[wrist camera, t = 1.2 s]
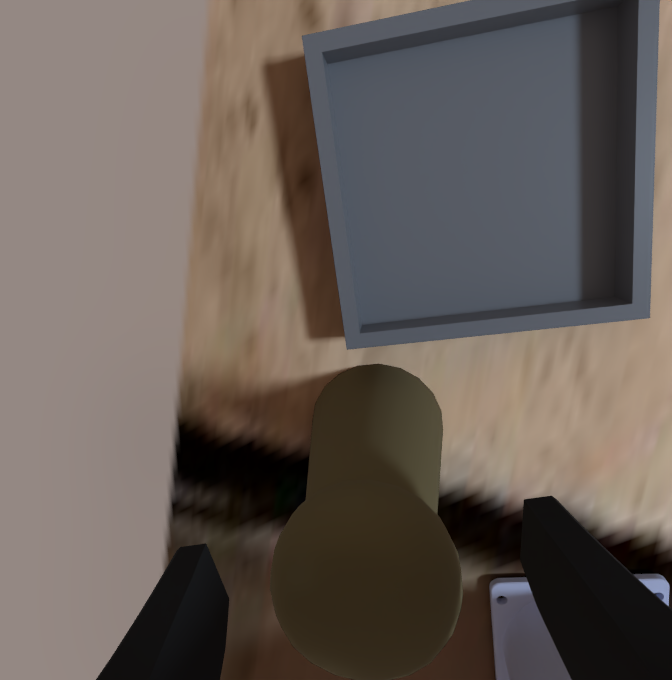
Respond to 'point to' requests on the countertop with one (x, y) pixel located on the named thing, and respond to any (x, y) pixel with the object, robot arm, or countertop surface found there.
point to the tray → (488, 166)
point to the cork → (370, 533)
